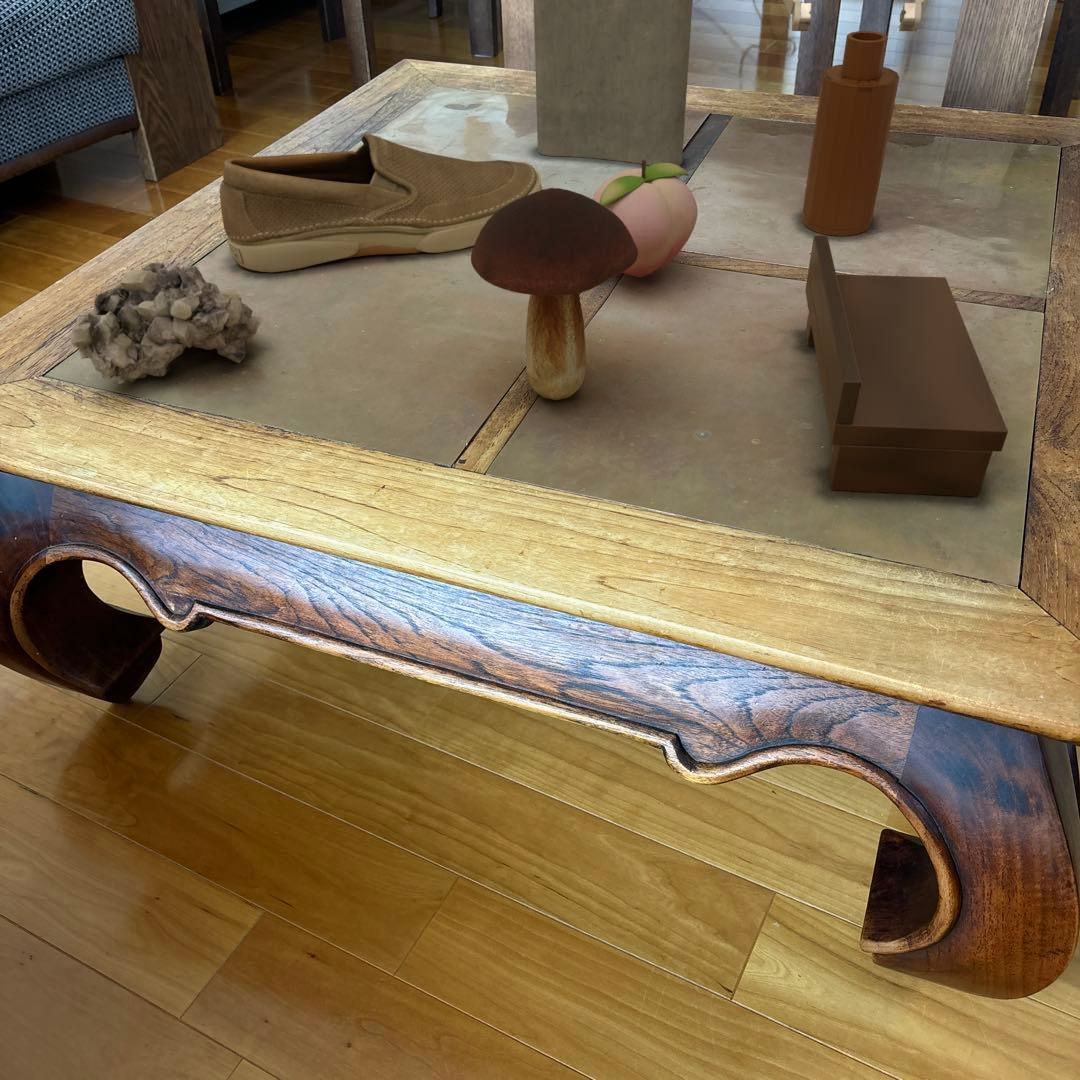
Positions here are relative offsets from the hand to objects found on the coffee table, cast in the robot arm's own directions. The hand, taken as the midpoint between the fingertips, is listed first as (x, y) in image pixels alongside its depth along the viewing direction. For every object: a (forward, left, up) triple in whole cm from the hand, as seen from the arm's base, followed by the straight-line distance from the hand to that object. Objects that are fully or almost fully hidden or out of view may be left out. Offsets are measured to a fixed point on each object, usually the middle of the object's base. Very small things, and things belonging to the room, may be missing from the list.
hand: (855, 27), depth 91 cm
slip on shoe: (+41, +12, -15) cm, 45 cm away
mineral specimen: (+52, +36, -15) cm, 65 cm away
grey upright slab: (+22, -9, -15) cm, 28 cm away
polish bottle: (0, +7, -15) cm, 17 cm away
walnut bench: (0, +38, -15) cm, 41 cm away
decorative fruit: (+18, +19, -15) cm, 30 cm away
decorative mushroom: (+23, +38, -15) cm, 47 cm away
